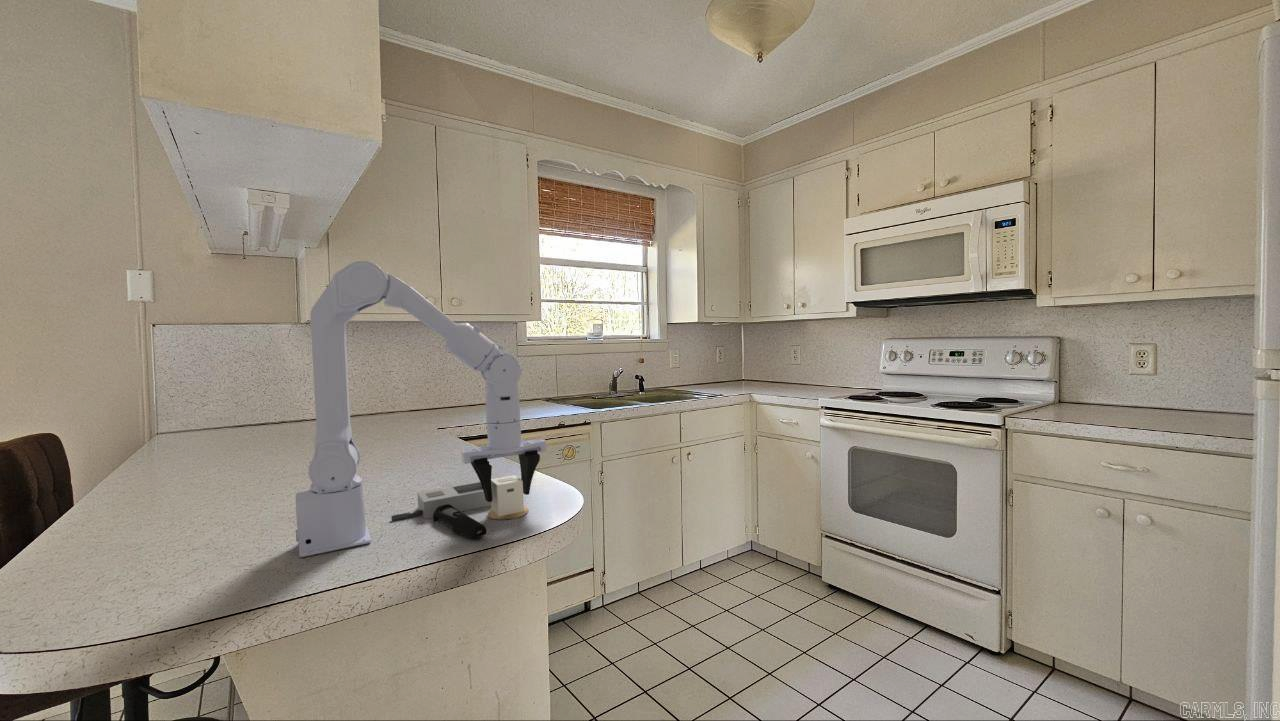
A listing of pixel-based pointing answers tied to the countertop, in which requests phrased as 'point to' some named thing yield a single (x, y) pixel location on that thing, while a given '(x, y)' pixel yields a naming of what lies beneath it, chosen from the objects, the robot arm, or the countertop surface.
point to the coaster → (510, 516)
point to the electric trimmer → (459, 521)
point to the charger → (507, 495)
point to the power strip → (448, 499)
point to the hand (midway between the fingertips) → (507, 496)
